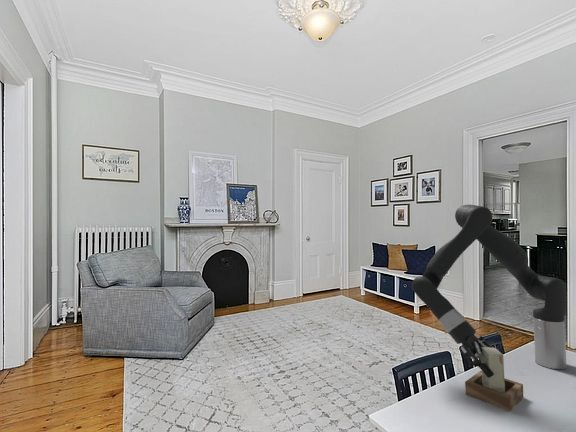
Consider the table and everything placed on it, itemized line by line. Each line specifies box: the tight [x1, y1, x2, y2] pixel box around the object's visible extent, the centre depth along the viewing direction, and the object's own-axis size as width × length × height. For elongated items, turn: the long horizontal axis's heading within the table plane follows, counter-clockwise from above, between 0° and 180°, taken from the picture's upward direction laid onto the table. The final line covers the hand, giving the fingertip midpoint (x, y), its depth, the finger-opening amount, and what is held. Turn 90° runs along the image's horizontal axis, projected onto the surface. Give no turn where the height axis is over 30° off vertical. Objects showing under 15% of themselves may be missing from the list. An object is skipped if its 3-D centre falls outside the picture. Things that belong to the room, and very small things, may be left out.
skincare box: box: [481, 347, 506, 393], centre depth 99 cm, size 6×4×12 cm
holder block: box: [464, 370, 525, 412], centre depth 98 cm, size 12×12×4 cm
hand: (496, 372), depth 98 cm, fingers closed on skincare box, 7 cm apart
